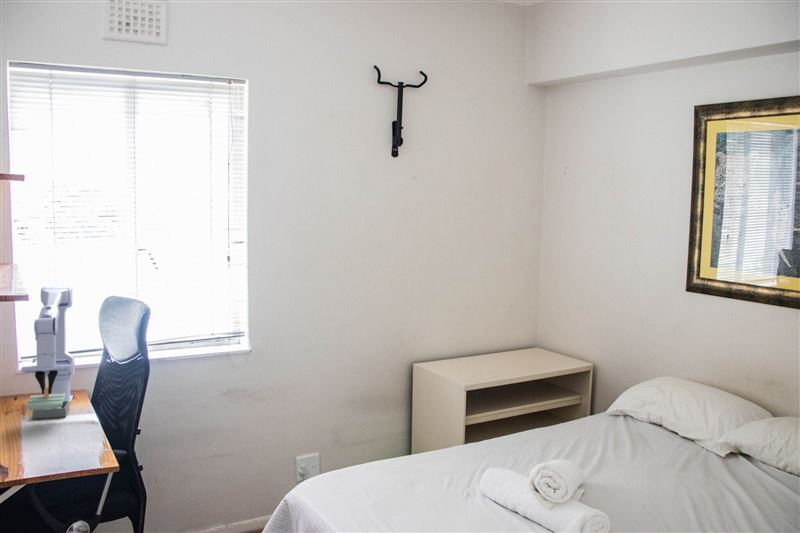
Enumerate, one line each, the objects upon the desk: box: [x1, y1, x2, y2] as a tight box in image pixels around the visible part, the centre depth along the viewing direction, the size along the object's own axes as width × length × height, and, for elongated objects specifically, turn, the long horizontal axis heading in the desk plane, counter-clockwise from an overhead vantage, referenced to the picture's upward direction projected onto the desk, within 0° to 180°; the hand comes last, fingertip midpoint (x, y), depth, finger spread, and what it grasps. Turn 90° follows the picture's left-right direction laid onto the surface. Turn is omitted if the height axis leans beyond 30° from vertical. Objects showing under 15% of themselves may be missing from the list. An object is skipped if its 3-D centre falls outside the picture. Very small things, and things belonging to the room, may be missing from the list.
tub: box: [32, 401, 71, 421], centre depth 229 cm, size 10×10×3 cm
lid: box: [24, 385, 66, 411], centre depth 218 cm, size 10×10×5 cm
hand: (46, 393), depth 220 cm, fingers closed on lid
